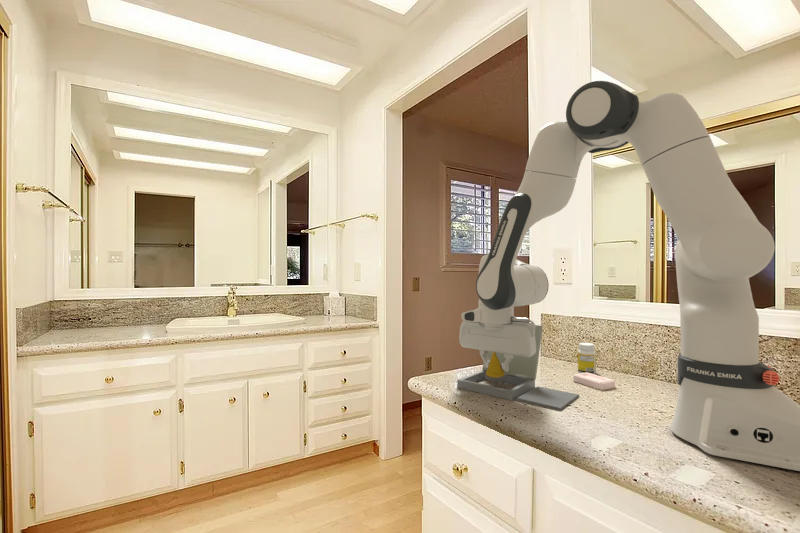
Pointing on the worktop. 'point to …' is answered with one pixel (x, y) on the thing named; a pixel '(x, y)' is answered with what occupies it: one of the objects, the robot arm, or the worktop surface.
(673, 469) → the worktop surface
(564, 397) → the rubber mat
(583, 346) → the supplement bottle
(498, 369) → the yellow cone
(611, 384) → the soap bar
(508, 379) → the equipment case
